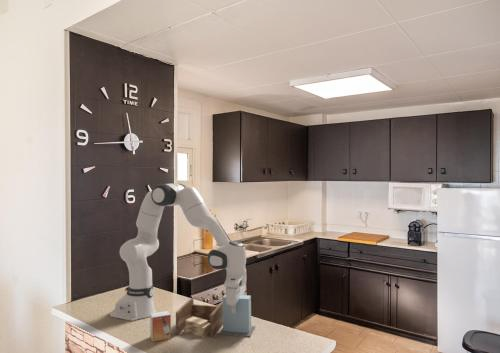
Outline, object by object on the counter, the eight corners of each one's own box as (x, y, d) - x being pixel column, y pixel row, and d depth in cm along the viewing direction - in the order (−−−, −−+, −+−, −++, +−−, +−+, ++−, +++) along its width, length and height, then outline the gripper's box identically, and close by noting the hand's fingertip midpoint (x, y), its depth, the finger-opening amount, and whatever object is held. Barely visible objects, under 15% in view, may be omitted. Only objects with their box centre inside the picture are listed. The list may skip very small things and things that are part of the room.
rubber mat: (219, 334, 160) (219, 333, 160) (225, 324, 170) (225, 323, 170) (250, 337, 157) (250, 335, 157) (254, 327, 167) (254, 326, 167)
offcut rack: (176, 334, 161) (175, 312, 160) (191, 318, 178) (191, 298, 178) (213, 338, 157) (212, 315, 157) (225, 321, 174) (224, 300, 174)
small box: (152, 342, 154) (151, 317, 154) (150, 337, 159) (149, 313, 159) (171, 338, 157) (170, 314, 157) (168, 333, 162) (168, 310, 162)
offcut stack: (183, 332, 163) (183, 320, 163) (191, 327, 169) (191, 315, 169) (203, 337, 158) (203, 325, 158) (211, 331, 164) (211, 319, 164)
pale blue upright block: (222, 330, 163) (222, 297, 163) (225, 326, 167) (225, 293, 167) (249, 332, 160) (248, 299, 160) (251, 328, 165) (250, 295, 164)
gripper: (235, 271, 174) (235, 299, 175) (223, 284, 154) (223, 316, 155) (248, 271, 173) (248, 300, 173) (237, 285, 153) (237, 318, 153)
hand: (236, 308), depth 164 cm, fingers open, 8 cm apart
